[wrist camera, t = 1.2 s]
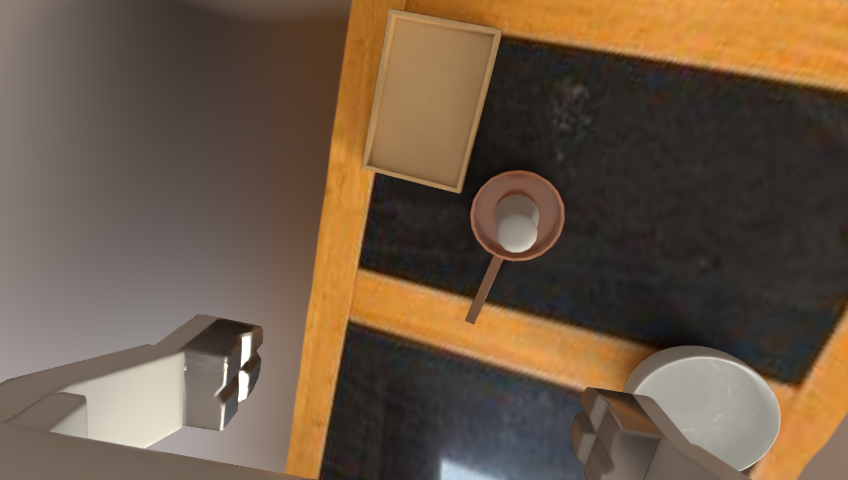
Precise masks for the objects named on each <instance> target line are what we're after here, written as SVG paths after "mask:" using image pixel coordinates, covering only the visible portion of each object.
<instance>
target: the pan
mask: <svg viewBox="0 0 848 480" xmlns="http://www.w3.org/2000/svg"><path fill="white" fill-rule="evenodd" d="M518 194H521V195H523V196H526V197H528V198H530V199H531V200H532V201H533V202H534V203H535V204H536V205H537V207H538V211H539V215H540V216H539V221H538V225H537V227H536V228H537V231H538V232H537V237H536V241H535V242H534V244H533V245H532V246H531V247H530V248H529V249H527V250H525V251H523V252H511V251H508V250H506V249H504V248H503V246H502V245H501V244H500V243H499V242H498V238H497V235H496V231H497V227H496V225H495V222H494V218H493V217H494V212H495V208H496V206H497V205H498V204H499V202H500V201H501V200H502V199H504V198H506V197H508V196H510V195H518ZM470 217H471V227H472V230H473V232H474V234H475V236H476V239H477V241H478V242H479V243H480V244H481V245H482V246H483V247H484V248H485V250H487V251H488V252H490V253H491V254H493V255H495V256H496V257H499V258H502V259H506V260H510V261H522V260H529V259H532V258H534V257H537V256H540V255H541V254H543V253H544V252H545V251H547V250H548V249H549V248H551V247H552V246H553V244H554V243H555V242H556V240H557V239H558V237H559V236H560V234H561V231H562V228H563V224H564V221H565V217H564V205H563V202H562V200H561V197H560V195H559V192H558V191H557V190H556V189H555V188H554V186H553V185H552V184H551V183H550V182H549V181H548V180H547V179H546V178H544V177H543V176H541V175H539V174H537V173H536V172H533V171H528V170H523V169H516V170H507V171H504V172H502V173H499V174H497V175H495V176H493V177H491V178H490V179H489V180H488V181H487V182H486V183H485V184H484V185H482V187H481V188H480V190H479V191H478V193H477V195H476V196H475V198H474V200H473V204H472V208H471V212H470Z"/></svg>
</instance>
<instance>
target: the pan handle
mask: <svg viewBox="0 0 848 480" xmlns="http://www.w3.org/2000/svg"><path fill="white" fill-rule="evenodd" d="M502 261H503V259H502V258H499V257H496V256H495V255H493V257H492V259H491V261H490V264H489V266H488V268H487V271H486V273H485V275H484V277H483V280H482V282H481V284H480V287H479V289H478V291H477V294H476V296H475V298H474V300H473V303H472V305H471V307H470V310H469V312H468V314H467V317H466V319H465V321H467V322H469V323H472V324H475V322H476V319H477V317H478V315H479V313H480V310H481V308H482V306H483V304H484V301H485V299H486V297H487V295H488V292H489V290H490V288H491V286H492V284H493V281H494V279H495V277H496V275H497V272H498V270H499V268H500V266H501V263H502Z"/></svg>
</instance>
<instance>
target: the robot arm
mask: <svg viewBox="0 0 848 480" xmlns="http://www.w3.org/2000/svg"><path fill="white" fill-rule="evenodd" d="M262 343H263V329H262V327H261V326H257V325H253V324H248V323H243V322H238V321H233V320H228V319H223V318H220V317H214V316H208V315H196V316H195V317H194V318H193V319H191V320H189V321H188V322H187V323H185V324H184V325H182V326H181V327H180V328H178V329H177V330H175V331H174V332H173V333H171V334H170V335H168V336H167V337H166V338H164V339H163V340H161V341H160V342H159V343H157V344H156V345H148V344H147V345H143V346H139V347H135V348H131V349H127V350H123V351H119V352H115V353H111V354H107V355H103V356H99V357H96V358H91V359H88V360H83V361H79V362H75V363H71V364H67V365H64V366H60V367H55V368H52V369H47V370H44V371H40V372H36V373H32V374H28V375H24V376H20V377H16V378H12V379H8V380H6V381H4V382H2V383H1V384H0V480H316V479H310V478H305V477H299V476H294V475H288V474H282V473H277V472H271V471H266V470H260V469H255V468H249V467H243V466H238V465H233V464H227V463H221V462H216V461H210V460H205V459H199V458H194V457H188V456H183V455H177V454H172V453H166V452H160V451H155V450H150V449H145V448H146V447H148V446H150V445H152V444H154V443H155V442H157V441H159V440H161V439H162V438H164V437H166V436H168V435H170V434H171V433H173V432H175V431H177V430H179V429H180V428H182V425H184V426H190V427H197V428H203V429H210V430H216V431H223V429H224V428H225V426H226V425H227V424H228V422H229V421H230V420H231V418H232V417H233V416H234V415H235V413H236V412H237V411H238V402H239V401H241V400H243V399H246V398H247V397H248V396H249V394H250V393H251V392H252V390H253V388H254V386H255V384H256V381H257V379H258V376H259V372H260V366H261V358H260V356H259V355H258V353H257V351H256V350H257V349H258V348H259V347H260V345H261V344H262ZM580 402H581V404H582V407H583V409H584V410H583V411H582V412H580V413H579V414H578V415H576V416H575V419H574V422H573V426H572V438H571V440H572V445H573V450H574V452H575V455H576V457H577V458H578V459H579V460H580V461H581V462H582V463H583V464H584V465H585V466H586V468H585V471H584V476H585V478H586V480H751V479H750V478H748V477H747V476H745V475H744V474H742V473H740V472H739V471H737V470H736V469H734V468H733V467H731V466H730V465H728V464H726V463H725V462H723V461H722V460H720V459H719V458H717V457H715V456H714V455H712V454H711V453H709V452H708V451H706V450H705V449H703V448H701V447H700V446H698V445H695V444H691V443H690V442H689V441H688V440H687V438H686V437H685V436H684V435H683V434H682V433H681V431H680V430H679V429H678V428H677V427H676V425H675V424H674V423H673V422H672V421H671V419H670V418H669V417H668V416H667V415H666V413H665V412H664V411H663V410H662V409H661V407H660V406H659V405H658V404H657V403H656V401H655V400H654V399H652V398H650V397H649V396H644V395H637V394H630V393H624V392H617V391H611V390H605V389H598V388H591V387H587V388H586V389H585V391H584V392H583V395H582V398H581V400H580Z"/></svg>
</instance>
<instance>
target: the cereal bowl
mask: <svg viewBox="0 0 848 480" xmlns="http://www.w3.org/2000/svg"><path fill="white" fill-rule="evenodd" d="M623 392H624V393H630V394H637V395H644V396H649V397H650V398H652V399H654V400H655V401H656V403H657V404H658V405H659V406H660V407H661V409H662V410H663V411H664V412H665V413H666V415H667V416H668V417H669V418H670V419H671V421H672V422H673V423H674V424H675V425H676V427H677V428H678V429H679V430H680V431H681V433H682V434H683V435H684V436H685V437H686V438H687V440H688V441H689V442H690V443H691V444H695V445H698V446H700V447H701V448H703V449H705V450H706V451H708V452H709V453H711V454H712V455H714V456H715V457H717V458H719V459H720V460H722V461H723V462H725V463H726V464H728V465H730V466H731V467H733V468H734V469H736V470H737V471H741V470H743V469H745V468H747V467H749V466H751V465H752V464H754V463H756V462H757V461H758V460H759V459H761V458H762V457H763V456H764V455H765V454H766V453H767V452H768V450H769V449H770V448H771V446H772V445H773V443H774V441H775V440H776V437H777V435H778V432H779V428H780V418H781V417H780V408H779V404H778V401H777V398H776V396H775V394H774V392H773V390H772V389H771V387H770V386H769V384H768V383H767V382H766V381H765V380H764V379H763V377H762V376H760V375H759V374H758V373H757V372H756V371H755V370H753V369H752V368H751V367H749V366H748V365H747V364H745V363H744V362H742V361H740V360H739V359H737V358H735V357H733V356H732V355H729V354H727V353H725V352H722V351H720V350H716V349H712V348H708V347H703V346H677V347H672V348H668V349H664V350H662V351H658V352H657V353H655V354H652V355H651V356H649V357H648V358H646V359H644V360H643V361H642V362H641V363H639V365H638V366H636V368H635V369H634V370H633V371H632V373H631V374H630V376H629V377H628V379H627V381H626V383H625V386H624V390H623Z"/></svg>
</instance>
